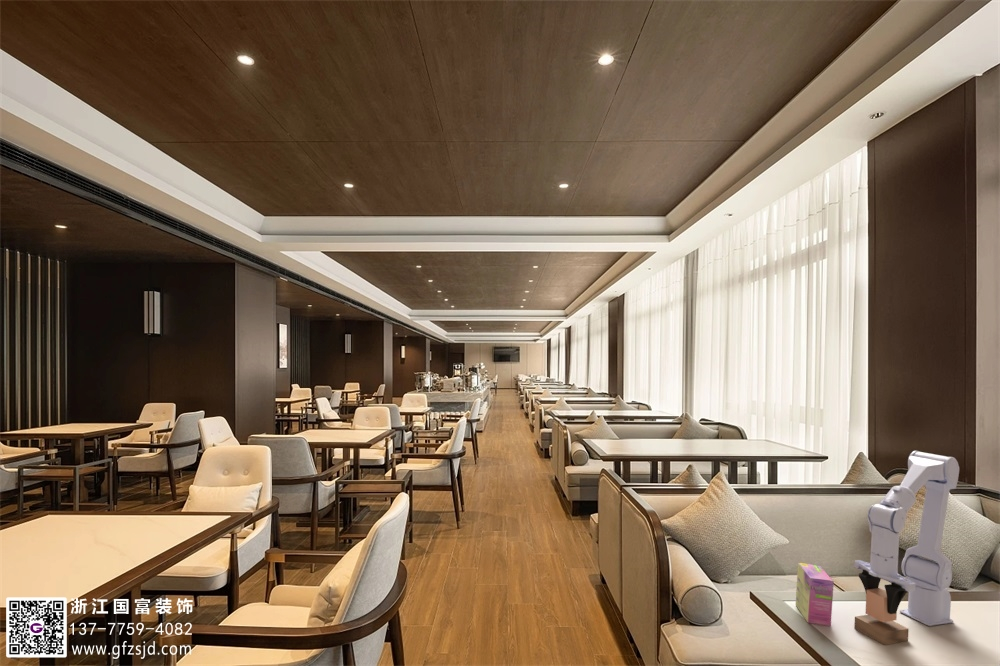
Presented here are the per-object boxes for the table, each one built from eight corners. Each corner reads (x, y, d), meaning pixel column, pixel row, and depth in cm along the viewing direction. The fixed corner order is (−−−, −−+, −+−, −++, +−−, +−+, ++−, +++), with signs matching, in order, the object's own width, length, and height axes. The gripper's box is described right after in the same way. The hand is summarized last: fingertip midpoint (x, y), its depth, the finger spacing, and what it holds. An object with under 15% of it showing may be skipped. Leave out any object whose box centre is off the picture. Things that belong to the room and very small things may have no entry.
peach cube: (878, 611, 146) (879, 587, 146) (896, 620, 141) (897, 595, 141) (865, 613, 144) (866, 589, 144) (883, 622, 140) (884, 598, 140)
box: (831, 626, 146) (834, 580, 146) (807, 623, 147) (809, 577, 147) (817, 608, 156) (819, 565, 156) (795, 605, 157) (797, 562, 157)
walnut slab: (877, 624, 148) (878, 613, 148) (908, 640, 140) (908, 628, 140) (854, 628, 145) (854, 616, 145) (884, 644, 138) (884, 632, 138)
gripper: (846, 544, 149) (844, 596, 149) (901, 566, 135) (898, 624, 135) (866, 542, 151) (864, 594, 151) (922, 564, 137) (919, 620, 137)
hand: (881, 608), depth 143 cm, fingers closed on peach cube, 5 cm apart
